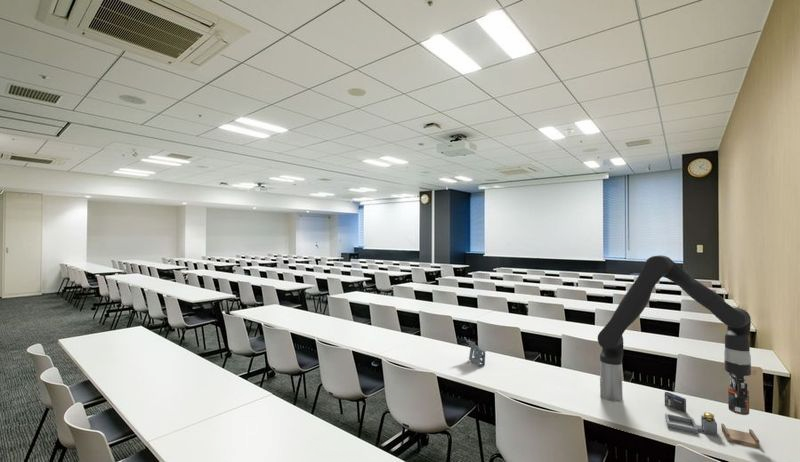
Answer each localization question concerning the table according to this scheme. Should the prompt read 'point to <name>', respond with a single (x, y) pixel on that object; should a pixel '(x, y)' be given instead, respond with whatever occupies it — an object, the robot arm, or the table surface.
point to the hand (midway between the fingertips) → (738, 404)
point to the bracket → (476, 354)
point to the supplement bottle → (733, 401)
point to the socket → (705, 427)
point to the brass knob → (708, 416)
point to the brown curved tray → (740, 436)
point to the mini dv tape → (675, 402)
